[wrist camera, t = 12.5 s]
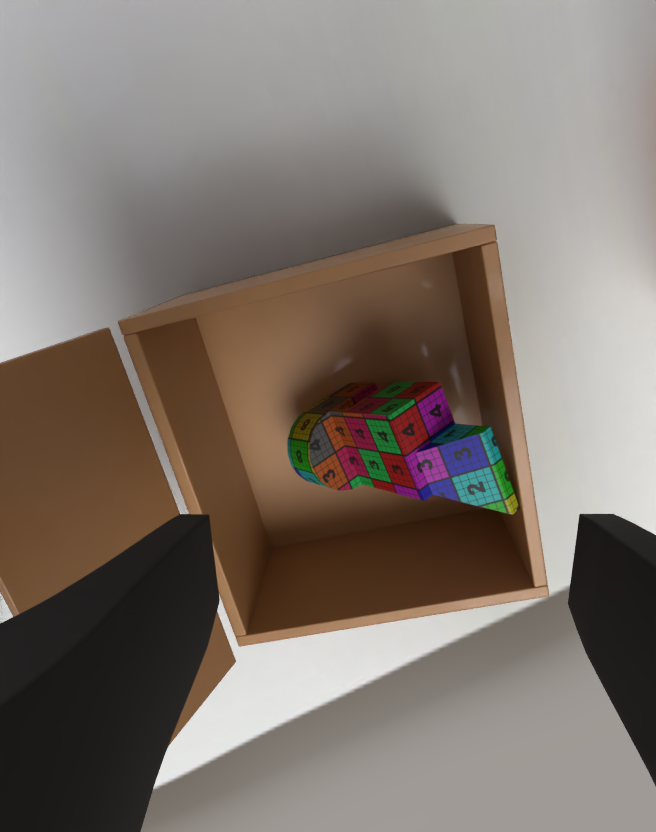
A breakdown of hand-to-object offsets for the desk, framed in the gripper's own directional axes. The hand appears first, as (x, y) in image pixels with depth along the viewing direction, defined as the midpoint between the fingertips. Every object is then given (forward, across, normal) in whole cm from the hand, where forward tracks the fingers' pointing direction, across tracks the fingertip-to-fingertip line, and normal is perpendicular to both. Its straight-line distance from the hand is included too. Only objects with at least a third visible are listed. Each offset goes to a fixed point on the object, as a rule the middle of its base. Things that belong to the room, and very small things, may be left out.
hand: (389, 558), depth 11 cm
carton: (+10, +1, 0) cm, 10 cm away
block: (+7, -2, 0) cm, 8 cm away
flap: (+2, +7, +1) cm, 7 cm away
